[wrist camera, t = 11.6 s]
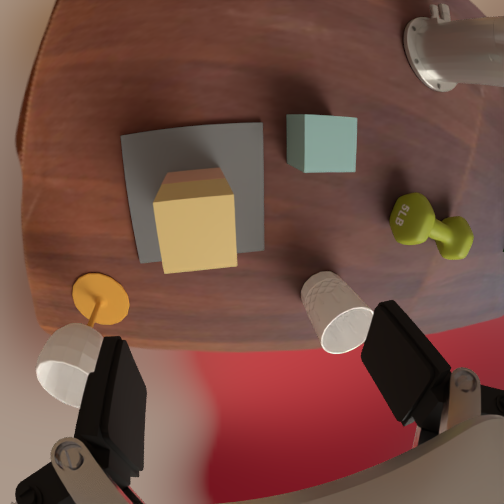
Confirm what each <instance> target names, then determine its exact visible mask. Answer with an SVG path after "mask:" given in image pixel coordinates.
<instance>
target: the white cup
mask: <svg viewBox="0 0 504 504" xmlns="http://www.w3.org/2000/svg"><path fill="white" fill-rule="evenodd" d="M301 300H302V302H303V304H304V306H305V308H306V312H307V315H308V317H309V319H310V321H311V324H312V326H313V328H314V330H315V332H316V335H317V337H318V339H319V341H320V343H321V345H322V347H323V349H324V350H325V351H327V352H329V353H332V354H340V353H345V352H348V351H350V350H353V349H354V348H356V347H358V346H359V345H361V344H362V343H363V342H364V341H365V340H366V337H367V334H368V331H369V327H370V324H371V321H372V317H373V314H374V312H373V311H372V310H371V309H370V308H369V307H368V306H367V304H366V303H365V302H364V301H363V300H362V299H361V298H360V297H359V296H358V295H357V294H356V293H355V292H354V291H353V290H352V289H351V288H350V287H349V286H348V285H347V284H346V283H345V282H344V281H343V280H342V279H341V278H340V277H339V276H338V275H337V274H335V273H333V272H331V271H323V272H319V273H317V274H315V275H312V276H311V277H310V278H309V279H308V280H307V281H306V282H305V283H304V285H303V288H302V290H301Z"/></svg>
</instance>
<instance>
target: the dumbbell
mask: <svg viewBox="0 0 504 504" xmlns="http://www.w3.org/2000/svg"><path fill="white" fill-rule="evenodd" d="M389 222H390V227H391V230H392V232H393V235H394V237H395V239H396V241H397V242H399V243H401V244H405V245H414V244H420V243H423V242H425V241H426V240H427V238H428V237H430V238H432V239H435V242H436V245H437V247H438V250H439V252H440V254H441V256H442V257H443V258H446V259H450V260H455V259H463V258H465V257H466V255H467V254H468V252H469V249H470V247H471V245H472V242H473V238H474V237H473V233H472V230H471V228H470V226H469V224H468V223H467V221H466V220H465V219H464V218H463V217H460V216H454V217H449V218H445V219H444V220H443V221H442V222H441V221H439V220H437V219H435V214H434V211H433V209H432V207H431V205H430V203H429V201H428V200H427V198H426V197H425V196H423V195H422V194H420V193H410V194H406V195H403V196H401V197H399V198H398V199H397V201H396V203H395V205H394V208H393V210H392V213H391V216H390V220H389Z"/></svg>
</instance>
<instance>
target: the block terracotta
mask: <svg viewBox="0 0 504 504" xmlns="http://www.w3.org/2000/svg"><path fill="white" fill-rule="evenodd" d="M222 178H225V176H224V174H223V172H222V170H221V168H208V169H197V170H187V171H177V172H169V173H167V174H166V176H165V178H164V180H163V182H162V184H170V183H179V182H189V181H199V180H210V179H222ZM162 184H161V185H162Z"/></svg>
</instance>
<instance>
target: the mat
mask: <svg viewBox="0 0 504 504" xmlns="http://www.w3.org/2000/svg"><path fill="white" fill-rule="evenodd" d="M121 145H122V155H123V164H124V172H125V180H126V187H127V194H128V200H129V207H130V213H131V219H132V224H133V230H134V235H135V240H136V245H137V250H138V255H139V259H140V263H149V262H159V261H162V258H161V252H160V246H159V240H158V234H157V228H156V221H155V214H154V207H153V201H154V199H155V197H156V195H157V193H158V191H159V189H160V187H161V184H162V182H163V180H164V178H165V176H166V174H167V173H169V172H177V171H187V170H197V169H208V168H221V170H222V172H223V174H224V176H225V178H226V180H227V182H228V184H229V186H230V188H231V190H232V192H233V194H234V207H235V229H236V249H237V253H244V252H253V251H263V250H264V167H263V123H262V122H261V123H229V124H212V125H199V126H188V127H178V128H170V129H161V130H154V131H147V132H140V133H134V134H128V135H122V136H121Z"/></svg>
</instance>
